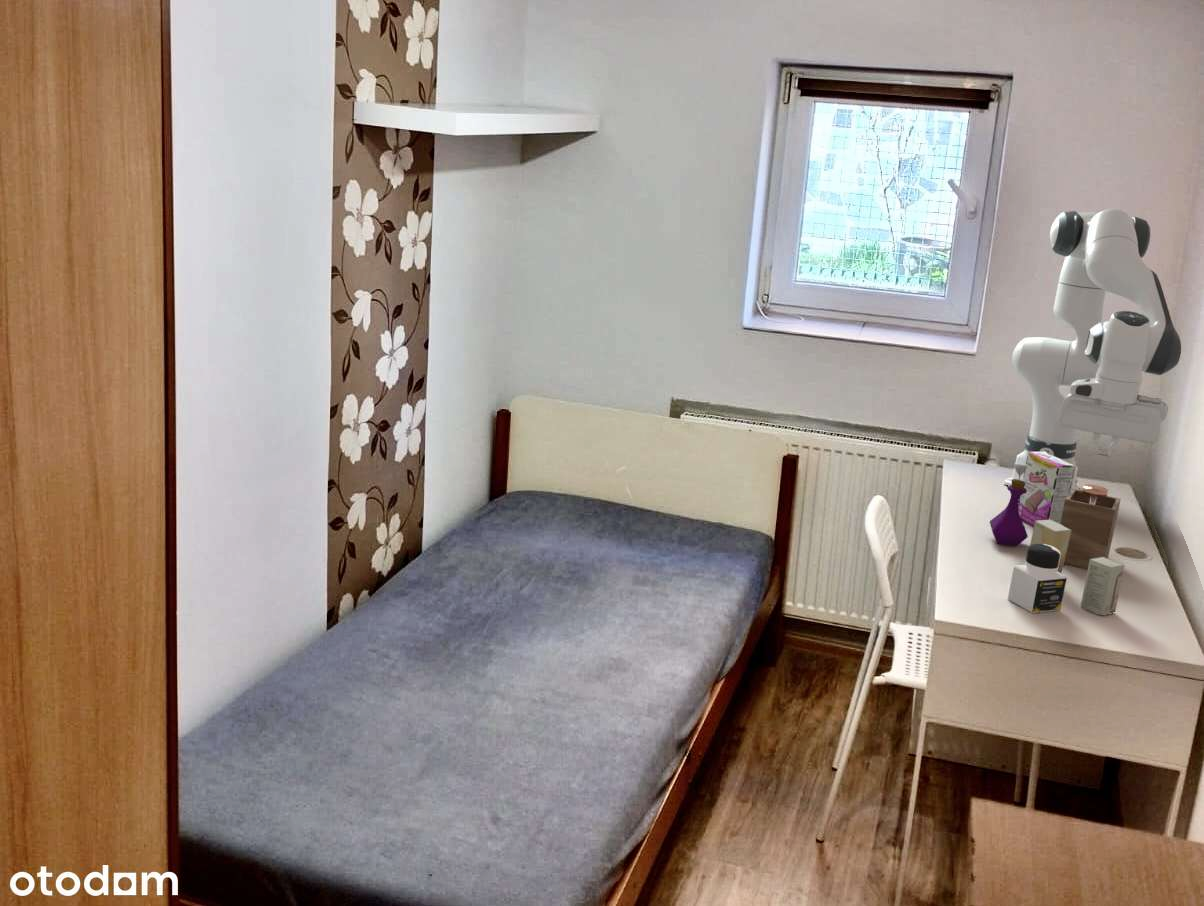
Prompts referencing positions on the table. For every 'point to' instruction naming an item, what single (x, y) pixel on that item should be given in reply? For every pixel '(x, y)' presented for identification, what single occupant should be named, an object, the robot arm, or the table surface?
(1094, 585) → the skincare box
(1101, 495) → the table lamp
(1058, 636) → the table surface
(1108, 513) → the wooden box
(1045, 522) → the skincare box
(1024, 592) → the medicine bottle
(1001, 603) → the table surface
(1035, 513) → the candy bar box
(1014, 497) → the perfume bottle
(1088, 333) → the robot arm
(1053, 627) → the table surface
